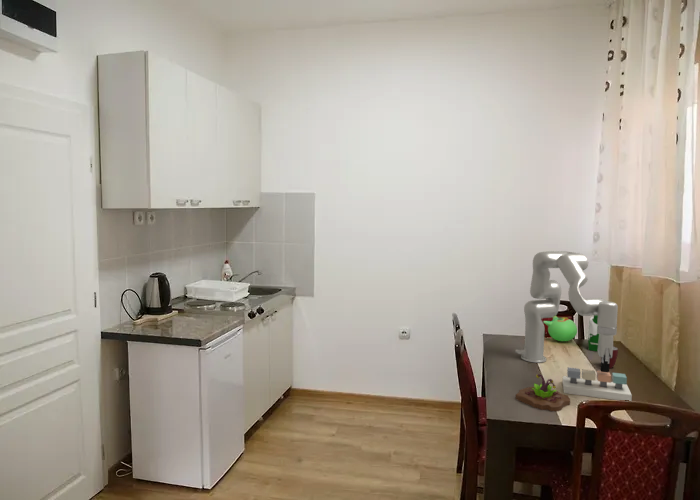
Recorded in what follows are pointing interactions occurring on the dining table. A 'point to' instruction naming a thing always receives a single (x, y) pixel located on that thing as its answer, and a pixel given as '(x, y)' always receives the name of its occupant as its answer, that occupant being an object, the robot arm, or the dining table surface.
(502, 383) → the dining table surface
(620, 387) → the key
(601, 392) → the keypad base
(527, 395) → the plant
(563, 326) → the toy bird
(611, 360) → the mug
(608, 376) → the key
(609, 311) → the robot arm
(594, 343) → the milk carton
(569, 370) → the key
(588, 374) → the key
